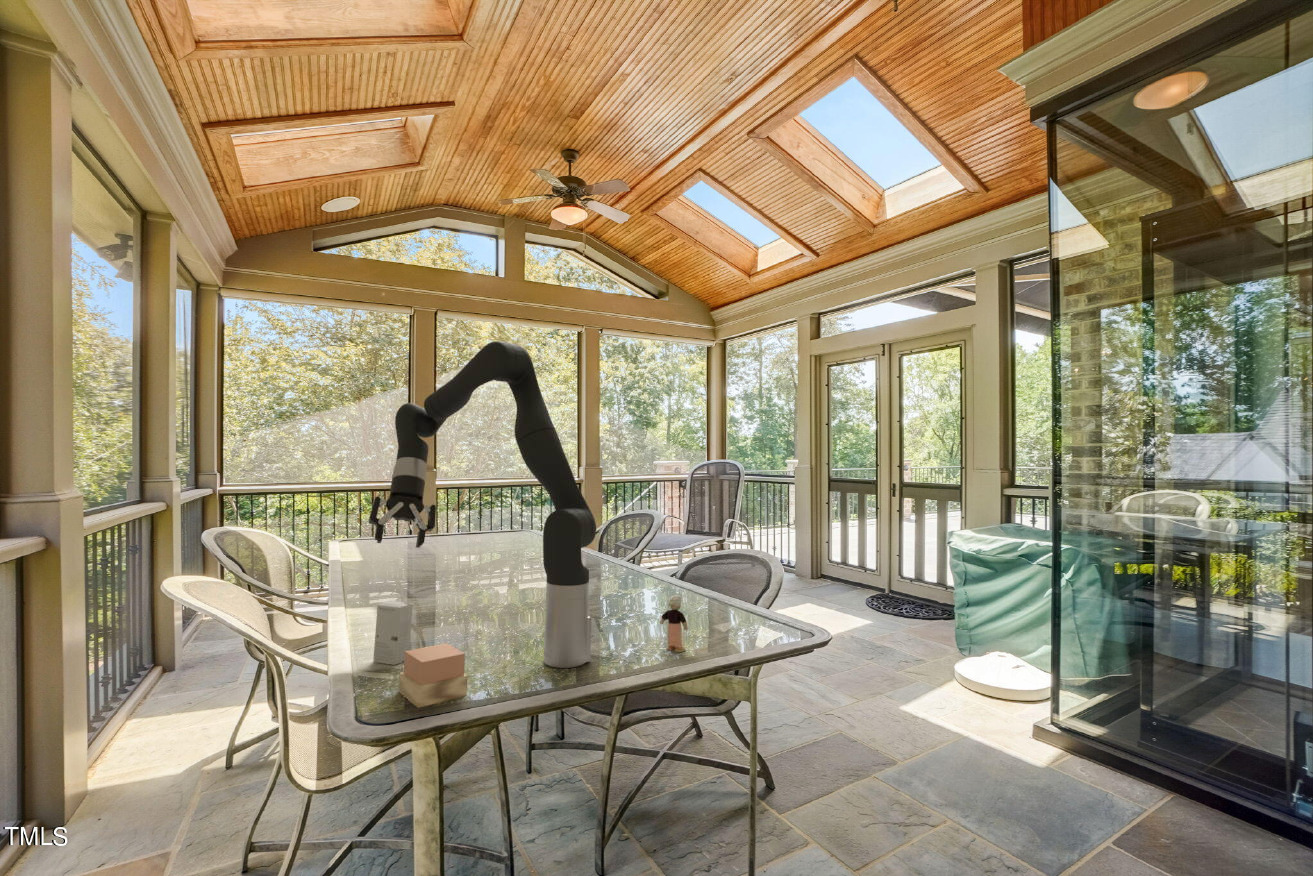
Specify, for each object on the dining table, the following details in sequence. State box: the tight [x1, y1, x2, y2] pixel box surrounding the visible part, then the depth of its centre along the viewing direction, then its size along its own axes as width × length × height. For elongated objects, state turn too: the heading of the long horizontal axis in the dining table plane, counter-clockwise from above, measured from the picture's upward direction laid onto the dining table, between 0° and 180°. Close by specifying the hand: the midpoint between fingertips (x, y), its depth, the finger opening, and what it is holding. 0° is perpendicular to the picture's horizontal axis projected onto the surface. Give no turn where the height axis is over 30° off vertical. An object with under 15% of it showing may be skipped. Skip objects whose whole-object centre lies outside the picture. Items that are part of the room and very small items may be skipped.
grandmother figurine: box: [659, 594, 689, 653], centre depth 144 cm, size 8×4×13 cm, turn 65°
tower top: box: [403, 642, 466, 685], centre depth 113 cm, size 8×8×4 cm
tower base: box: [398, 671, 468, 709], centre depth 113 cm, size 9×9×4 cm
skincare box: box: [373, 600, 414, 666], centre depth 130 cm, size 6×4×12 cm
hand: (399, 544), depth 140 cm, fingers open, 8 cm apart
